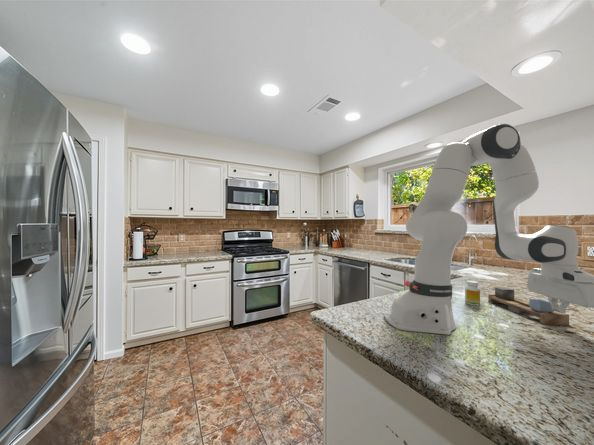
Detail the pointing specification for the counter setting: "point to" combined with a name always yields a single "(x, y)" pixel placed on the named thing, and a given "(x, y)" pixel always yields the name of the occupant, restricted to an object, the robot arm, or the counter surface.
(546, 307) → the block
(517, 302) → the beam
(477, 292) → the supplement bottle
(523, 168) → the robot arm
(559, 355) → the counter surface
